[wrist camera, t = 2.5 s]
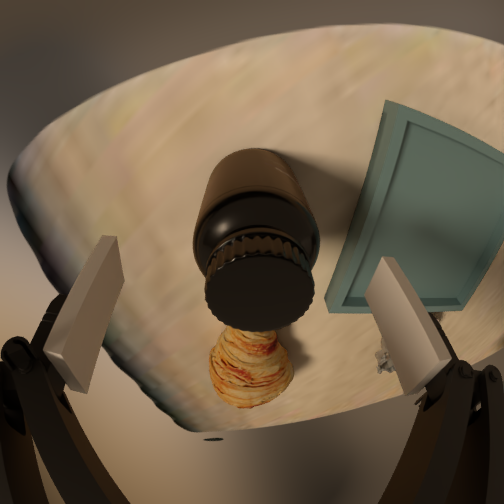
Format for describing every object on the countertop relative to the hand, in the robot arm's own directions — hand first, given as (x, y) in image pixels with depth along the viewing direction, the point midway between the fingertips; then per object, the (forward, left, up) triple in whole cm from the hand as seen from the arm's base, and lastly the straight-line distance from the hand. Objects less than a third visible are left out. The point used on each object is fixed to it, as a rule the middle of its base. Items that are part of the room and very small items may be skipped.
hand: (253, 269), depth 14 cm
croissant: (-3, +22, -10) cm, 25 cm away
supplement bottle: (0, 0, -10) cm, 10 cm away
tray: (-19, +1, -10) cm, 22 cm away
